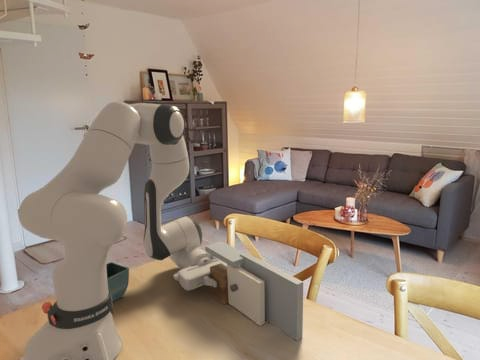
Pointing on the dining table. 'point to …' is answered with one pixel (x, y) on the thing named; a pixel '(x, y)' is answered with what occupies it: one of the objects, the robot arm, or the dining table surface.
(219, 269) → the walnut block
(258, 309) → the door panel
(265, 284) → the wall
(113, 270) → the flower pot
